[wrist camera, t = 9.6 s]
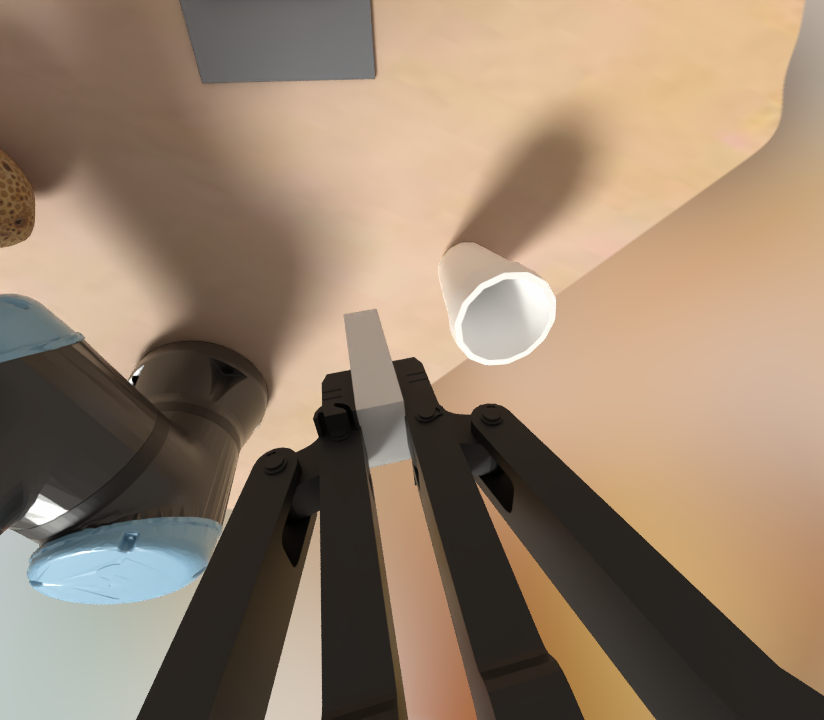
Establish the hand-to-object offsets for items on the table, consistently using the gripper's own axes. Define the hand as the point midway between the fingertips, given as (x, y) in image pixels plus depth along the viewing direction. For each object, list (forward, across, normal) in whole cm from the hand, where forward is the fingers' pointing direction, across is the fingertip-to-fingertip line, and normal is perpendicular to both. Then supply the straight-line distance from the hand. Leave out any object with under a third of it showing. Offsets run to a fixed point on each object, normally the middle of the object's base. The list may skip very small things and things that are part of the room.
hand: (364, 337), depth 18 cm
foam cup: (+25, -13, +8) cm, 30 cm away
